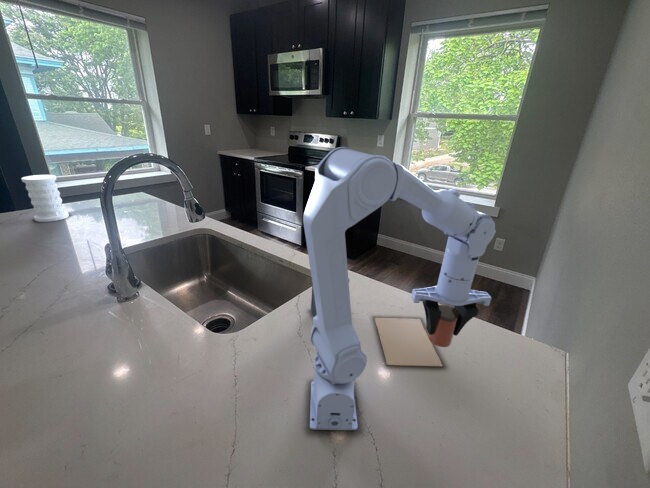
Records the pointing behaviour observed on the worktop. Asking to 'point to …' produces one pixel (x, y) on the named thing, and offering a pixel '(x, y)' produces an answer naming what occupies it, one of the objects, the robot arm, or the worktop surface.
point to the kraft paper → (406, 343)
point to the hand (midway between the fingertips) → (441, 331)
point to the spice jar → (445, 326)
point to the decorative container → (45, 198)
